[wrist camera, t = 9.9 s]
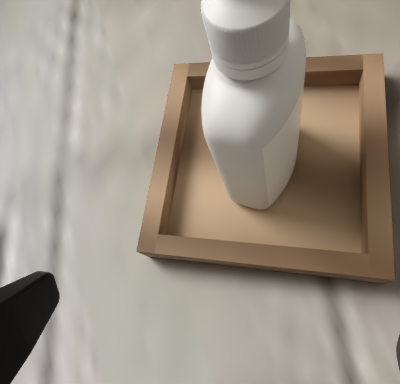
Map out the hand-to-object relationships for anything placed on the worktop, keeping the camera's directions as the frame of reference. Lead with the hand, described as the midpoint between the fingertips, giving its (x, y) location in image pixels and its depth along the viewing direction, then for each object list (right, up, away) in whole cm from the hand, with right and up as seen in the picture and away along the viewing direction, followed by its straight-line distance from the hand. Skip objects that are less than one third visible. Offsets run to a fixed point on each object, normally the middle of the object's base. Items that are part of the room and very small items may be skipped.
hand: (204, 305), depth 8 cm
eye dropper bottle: (+3, +4, +10) cm, 12 cm away
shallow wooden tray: (+4, +5, +10) cm, 12 cm away
